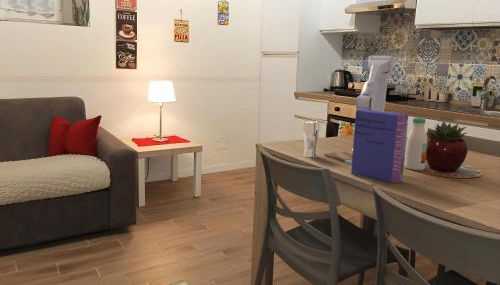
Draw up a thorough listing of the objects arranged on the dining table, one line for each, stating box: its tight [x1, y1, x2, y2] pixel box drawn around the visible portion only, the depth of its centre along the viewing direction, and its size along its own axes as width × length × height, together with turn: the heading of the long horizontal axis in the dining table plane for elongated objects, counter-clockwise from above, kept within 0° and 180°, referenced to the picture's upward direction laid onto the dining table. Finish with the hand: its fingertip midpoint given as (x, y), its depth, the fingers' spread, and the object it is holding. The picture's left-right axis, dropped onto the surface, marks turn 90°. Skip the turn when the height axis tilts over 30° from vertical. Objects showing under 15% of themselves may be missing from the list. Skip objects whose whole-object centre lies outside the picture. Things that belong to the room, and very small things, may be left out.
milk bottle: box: [403, 117, 428, 171], centre depth 176 cm, size 8×8×20 cm
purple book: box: [350, 109, 410, 185], centre depth 159 cm, size 17×5×24 cm, turn 50°
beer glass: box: [303, 120, 321, 158], centre depth 192 cm, size 7×7×15 cm
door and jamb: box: [323, 150, 352, 166], centre depth 187 cm, size 18×26×4 cm
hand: (360, 157), depth 182 cm, fingers closed
